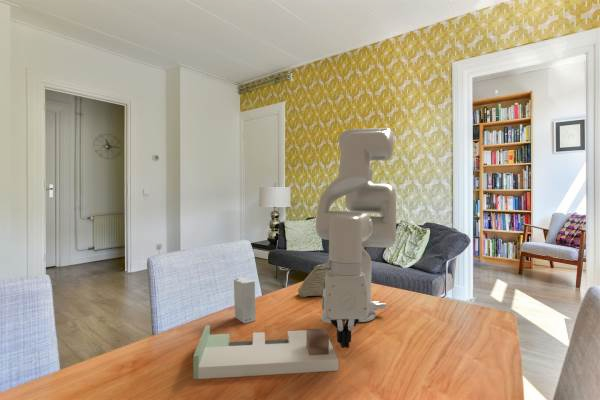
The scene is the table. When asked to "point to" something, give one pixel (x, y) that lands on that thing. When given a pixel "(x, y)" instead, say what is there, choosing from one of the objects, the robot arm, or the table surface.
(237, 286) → the skincare box
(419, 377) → the table surface
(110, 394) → the table surface
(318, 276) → the fossil tooth
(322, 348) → the walnut block
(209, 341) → the board
